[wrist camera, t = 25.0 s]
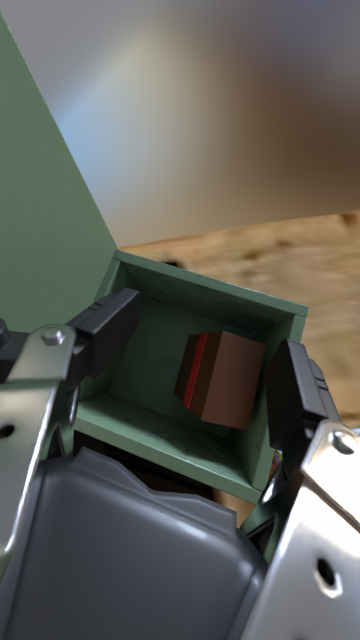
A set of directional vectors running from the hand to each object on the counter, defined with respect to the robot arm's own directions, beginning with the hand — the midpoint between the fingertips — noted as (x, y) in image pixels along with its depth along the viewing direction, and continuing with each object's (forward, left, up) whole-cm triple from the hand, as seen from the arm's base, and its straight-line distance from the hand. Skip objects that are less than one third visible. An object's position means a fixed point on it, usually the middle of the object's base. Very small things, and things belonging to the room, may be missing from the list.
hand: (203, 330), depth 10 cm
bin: (+1, +2, -14) cm, 15 cm away
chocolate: (0, +2, -13) cm, 13 cm away
